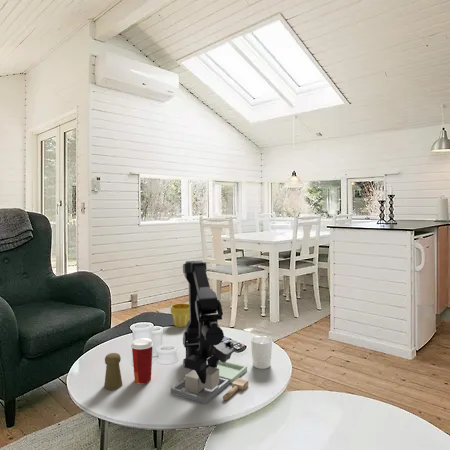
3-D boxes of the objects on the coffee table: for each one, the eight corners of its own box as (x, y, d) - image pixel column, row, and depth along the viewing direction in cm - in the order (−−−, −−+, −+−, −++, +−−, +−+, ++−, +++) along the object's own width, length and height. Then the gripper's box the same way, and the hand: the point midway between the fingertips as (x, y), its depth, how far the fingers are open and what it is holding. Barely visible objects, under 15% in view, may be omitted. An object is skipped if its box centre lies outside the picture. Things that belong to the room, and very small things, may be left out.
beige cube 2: (185, 390, 128) (184, 375, 128) (193, 383, 133) (193, 369, 132) (197, 393, 126) (197, 378, 126) (205, 387, 130) (205, 372, 130)
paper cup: (157, 377, 138) (157, 338, 137) (146, 387, 130) (146, 346, 129) (138, 373, 140) (138, 336, 139) (127, 383, 133) (126, 344, 132)
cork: (106, 391, 127) (105, 359, 127) (102, 383, 133) (101, 352, 132) (124, 387, 130) (123, 355, 129) (120, 379, 136) (119, 349, 135)
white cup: (271, 370, 142) (271, 344, 142) (250, 368, 144) (249, 342, 143) (272, 361, 150) (272, 336, 149) (252, 360, 152) (252, 335, 151)
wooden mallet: (229, 403, 120) (229, 397, 120) (218, 399, 122) (218, 394, 122) (248, 385, 131) (248, 380, 131) (238, 382, 133) (238, 377, 133)
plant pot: (191, 328, 189) (190, 308, 188) (169, 328, 188) (169, 309, 188) (192, 321, 199) (191, 302, 199) (171, 321, 199) (171, 303, 198)
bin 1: (170, 392, 126) (170, 388, 126) (196, 375, 139) (196, 371, 139) (205, 404, 119) (205, 399, 119) (228, 384, 132) (228, 380, 132)
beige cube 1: (198, 386, 126) (198, 371, 126) (206, 379, 131) (206, 365, 130) (211, 390, 124) (211, 375, 123) (219, 383, 128) (219, 368, 128)
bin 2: (196, 373, 140) (196, 369, 140) (213, 361, 150) (213, 358, 150) (231, 383, 133) (231, 379, 132) (247, 370, 142) (247, 366, 142)
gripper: (213, 348, 114) (213, 399, 115) (242, 329, 130) (242, 374, 131) (182, 341, 120) (183, 389, 121) (214, 324, 136) (215, 367, 137)
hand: (208, 379), depth 127 cm, fingers closed on beige cube 1, 5 cm apart
